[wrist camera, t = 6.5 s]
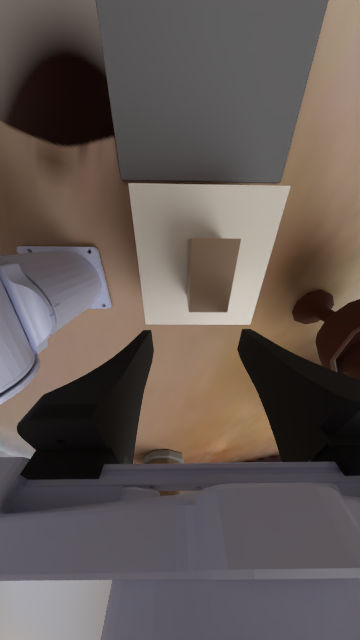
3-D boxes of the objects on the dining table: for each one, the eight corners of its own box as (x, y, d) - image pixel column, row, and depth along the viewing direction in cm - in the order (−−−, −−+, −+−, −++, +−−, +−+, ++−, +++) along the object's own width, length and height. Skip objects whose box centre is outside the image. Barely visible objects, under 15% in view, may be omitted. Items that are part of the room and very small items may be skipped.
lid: (146, 321, 17) (137, 347, 13) (130, 185, 11) (103, 153, 7) (248, 322, 17) (270, 347, 13) (285, 188, 11) (346, 158, 7)
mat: (122, 180, 14) (121, 179, 14) (85, -88, 9) (81, -102, 8) (278, 183, 15) (280, 181, 14) (344, -76, 9) (351, -89, 8)
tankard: (141, 450, 46) (127, 535, 33) (180, 448, 45) (181, 533, 32) (154, 472, 55) (147, 544, 42) (187, 470, 55) (189, 542, 42)
